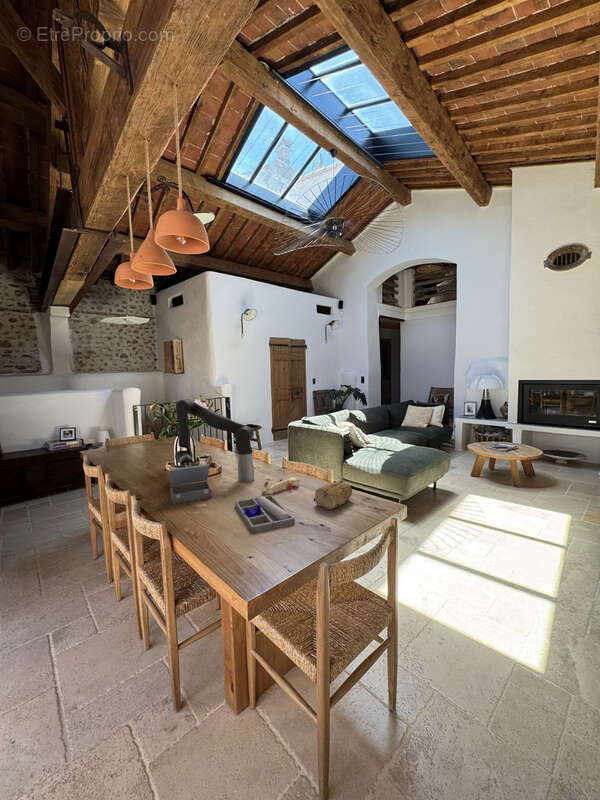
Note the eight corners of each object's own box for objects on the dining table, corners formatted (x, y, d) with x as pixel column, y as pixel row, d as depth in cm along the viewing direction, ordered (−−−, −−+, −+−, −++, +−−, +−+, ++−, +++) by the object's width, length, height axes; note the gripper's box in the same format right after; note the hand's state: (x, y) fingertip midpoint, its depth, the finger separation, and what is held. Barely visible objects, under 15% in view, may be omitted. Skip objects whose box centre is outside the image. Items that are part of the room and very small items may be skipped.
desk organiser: (271, 499, 181) (271, 495, 181) (294, 523, 153) (294, 518, 153) (235, 506, 173) (235, 501, 173) (252, 532, 145) (252, 527, 145)
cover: (207, 480, 197) (207, 478, 198) (209, 465, 187) (209, 464, 188) (170, 485, 189) (170, 484, 190) (170, 470, 179) (170, 469, 180)
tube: (293, 513, 155) (266, 496, 176) (283, 512, 152) (257, 495, 173) (290, 525, 155) (264, 506, 175) (280, 524, 152) (255, 505, 172)
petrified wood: (334, 494, 187) (338, 477, 185) (354, 505, 179) (358, 487, 176) (311, 503, 173) (315, 485, 170) (331, 516, 164) (335, 497, 162)
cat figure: (270, 500, 184) (304, 485, 200) (269, 485, 182) (303, 471, 199) (259, 495, 191) (293, 481, 208) (258, 480, 190) (291, 467, 206)
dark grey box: (207, 489, 198) (207, 481, 197) (212, 498, 184) (211, 489, 184) (170, 495, 190) (170, 486, 189) (172, 504, 176) (172, 495, 176)
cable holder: (248, 519, 157) (248, 511, 157) (244, 517, 160) (244, 509, 159) (262, 514, 163) (262, 506, 162) (258, 511, 165) (258, 504, 165)
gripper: (174, 457, 200) (176, 465, 184) (197, 455, 205) (201, 462, 190) (174, 470, 201) (176, 479, 185) (198, 467, 206) (202, 476, 190)
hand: (189, 471), depth 187 cm, fingers closed
